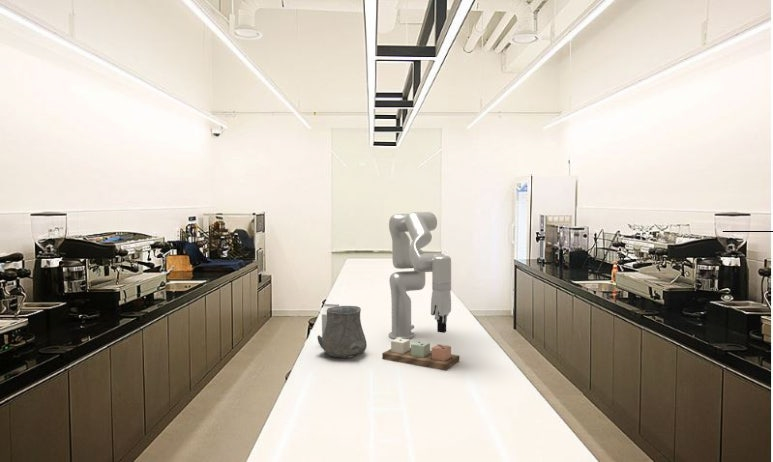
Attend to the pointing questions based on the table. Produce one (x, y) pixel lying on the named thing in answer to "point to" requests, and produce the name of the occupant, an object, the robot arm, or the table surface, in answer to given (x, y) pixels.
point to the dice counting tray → (421, 360)
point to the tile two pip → (420, 349)
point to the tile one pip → (400, 345)
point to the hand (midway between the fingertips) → (441, 332)
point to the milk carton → (324, 315)
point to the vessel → (343, 332)
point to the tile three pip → (441, 352)
